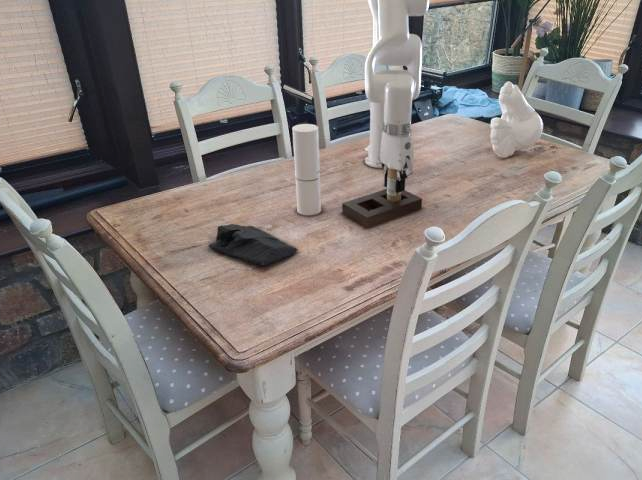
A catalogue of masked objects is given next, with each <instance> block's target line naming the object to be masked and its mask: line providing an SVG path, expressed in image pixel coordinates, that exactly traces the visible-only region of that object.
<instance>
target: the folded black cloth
mask: <svg viewBox="0 0 642 480" xmlns="http://www.w3.org/2000/svg"><path fill="white" fill-rule="evenodd" d="M216 229H217V231H216V232H217V233H216V237H215V241H212V242H211V243H210V244H208V248H211V250H216V251H218V252H220V253H223V255H227V256H230V257H235V258H238V259H240V260H243V261H245V262H246V261H247V262H249V263H251V264H255V265H256V266H259V265H261V266H267V265H269V264H272V263H274V262H276V261H279V260H282V259H285V258H287V257H290V256H293V255H294V254H295V253H296V252H297V251H299V249H298V248H297V247H294V246H292V245H289V244H287V243H286V242H284V241H282V240H280V239H278V238H277V237H276V236H273V235H272V234H270V233H269V232H266V231H264V230H261V229H260V228H258V227H255V226H254V225H240V224H235V223H230V224H225V225H219V226H217V228H216Z"/></svg>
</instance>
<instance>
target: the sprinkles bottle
mask: <svg viewBox="0 0 642 480" xmlns="http://www.w3.org/2000/svg"><path fill="white" fill-rule="evenodd" d="M387 167H388V176H387V187H386V189H387V200H388V201H390V202H392V203H394V202H397V201H400V200H401V192H399V193H396V192H395V187H396V180H397V170H396V169H394V168H392V165H391V163H388V166H387ZM401 174H403V171H401Z"/></svg>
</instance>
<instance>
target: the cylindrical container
mask: <svg viewBox="0 0 642 480" xmlns="http://www.w3.org/2000/svg"><path fill="white" fill-rule="evenodd" d="M291 129H292V146H293V160H294V163H293V164H294V179H295V180H294V181H295V193H296V196H295V197H296V208H297V209H296V210H297V213H298V214H299V215H303V216H316V215H318V214H320V213H321V212H322V199H321V198H322V197H321V169H320V166H321V165H320V147H319V146H320V141H319V140H320V139H319V126H318V125H316V124H312V123H299V124H296V125H294V126H293V125H292V128H291Z"/></svg>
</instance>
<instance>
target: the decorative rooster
mask: <svg viewBox="0 0 642 480" xmlns="http://www.w3.org/2000/svg"><path fill="white" fill-rule="evenodd" d="M498 103H499V108H500V110H501V113H502V114H501V116H500V117H497V116H496V117H493V118H491V120H490V126H489V127H490V129H491V130H490V136H489V137H490V143H491V144H492V151H493V152H494V154H495V155H496V156H498V157H499V158H502V159H506V158H508V157H511V156H513V155H514V153H515V152H517V151H522V150H527V149H530V148H531V147H533V146H534V144H536V143H538V142H539V140H540V139H541V136H542V134H543V129H544V123H543V119H542V117H541V116H540V114H539V113H538V112H536V110H535V109H534V107H532V106H531V105H530V104H529V102H527V100H526V98H525V96H524V94H523V93H522V91H521V89H520V87H519V86H518V85H517V84H513V82H511V81H509V80H508V81H506V82H505V83H504V84H503V86H502V87H501V88H500V90H499V95H498Z"/></svg>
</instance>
